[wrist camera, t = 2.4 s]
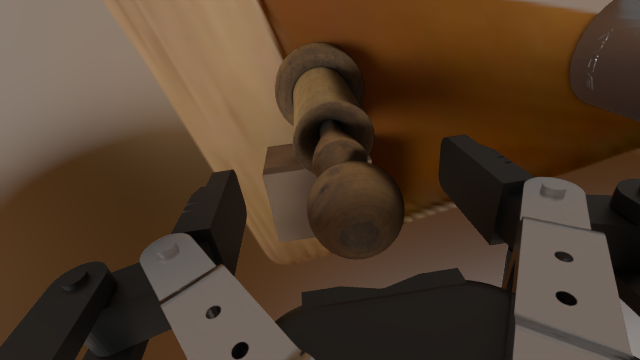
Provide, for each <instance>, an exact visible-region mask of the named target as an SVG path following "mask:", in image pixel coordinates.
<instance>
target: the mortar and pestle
mask: <svg viewBox="0 0 640 360" xmlns="http://www.w3.org/2000/svg"><path fill="white" fill-rule="evenodd" d="M275 96H276V101H277V105H278V107H279V110H280V111H281V113H282V115H283V116H284V118H285V119H286V120H287V121H288V122H289V123H290V124H291V125H292V126H294V128H293V148H294V153H295V156H296V158H297V159H298V161H299V162H300V164H301V165H302V166H303V167H304V168H305V169H306V170H308V171H309V172H311V173H313V174H315V176H316V177H317V180H316V181H315V183H314V184H313V186H312V188H311V190H310V193H309V196H308V201H307V216H308V221H309V224H310V227H311V229H312V231H313V233H314V235H315V236H316V238H317V239H318V241H319V242H320V243H321V244H322V245H323V246H324V247H325V248H326V249H328V250H329V251H331V252H332V253H334V254H336V255H338V256H341V257H344V258H348V259H365V258H369V257H373V256H375V255H377V254H379V253H381V252H382V251H384V250H386V249H387V248H388V247H389V246H390V245H391V244H392V243H393V242H394V241H395V239H396V238H397V236H398V234H399V232H400V230H401V227H402V225H403V220H404V201H403V197H402V194H401V192H400V189H399V187H398V186H397V184H396V182H395V181H394V180H393V178H392V177H391V176H390V175H389V174H388V173H387V172H385V171H384V170H383V169H381V168H380V167H378V166H376V165H373V164H371V163H368V156H369V154H370V152H371V150H372V148H373V144H374V128H373V125H372V122H371V120H370V118H369V117H368V115H367V114H366V112H365V111H364V110H363V108H362V107H361V106H362V103H363V99H364V82H363V77H362V74H361V72H360V70H359V68H358V66H357V65H356V63H355V62H354V61H353V60H352V59H351V57H350V56H349V55H348V54H347V53H346V52H344V51H343V50H342V49H340V48H338V47H336V46H334V45H331V44H327V43H310V44H306V45H303V46H301V47H299V48H297V49H295V50H294V51H292V52H291V53H290V54H289V55H288V56H287V57H286V58H285V59H284V61H283V62H282V64H281V66H280V68H279V70H278V73H277V77H276V84H275Z"/></svg>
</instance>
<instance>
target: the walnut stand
mask: <svg viewBox="0 0 640 360" xmlns="http://www.w3.org/2000/svg"><path fill="white" fill-rule="evenodd" d="M368 163H371V164H372V160H371V158H370V156H368ZM263 179H264V183H265V187H266V191H267V195H268V199H269V203H270V207H271V211H272V215H273V218H274V222H275V226H276V230H277V234H278V238H279V242H285V241H292V240H299V239H306V238H313V237H316V236H315V235H314V233H313V231H312V229H311V227H310V224H309V221H308V216H307V201H308V196H309V193H310V190H311V188H312V186H313V184H314V183H315V181H316V180H317V177H316V176H315V174H313V173H311V172H309V171H308V170H306V169H305V168H304V167H303V166H302V165H301V164H300V162H299V161H298V159H297V158H296V156H295V153H294V148H293V144H288V145H281V146H274V147H268V149H267V154H266V160H265V165H264V170H263Z"/></svg>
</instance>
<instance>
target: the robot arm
mask: <svg viewBox="0 0 640 360" xmlns="http://www.w3.org/2000/svg"><path fill="white" fill-rule="evenodd" d="M570 83H571V87H572V90H573V92H574V93H575V95H576V96H577V98H579V99H580V100H581V101H583V102H584V103H586V104H589V105H592V106H595V107H598V108H601V109H604V110H607V111H610V112H613V113H616V114H619V115H622V116H624V117H627V118H630V119H633V120H636V121H639V122H640V0H613V1H612V2H611V3H609V4H608V5H607V6H606V7H605V8H604V9H603V10H602V11H601V12H600V13H599V14H598V15H597V16H596V17H595V18H594V19H593V21H592V22H591V23H590V25H589V26H588V27H587V29H586V30H585V31H584V33H583V35H582V37H581V38H580V40H579V42H578V44H577V46H576V49H575V51H574V54H573V56H572V60H571V66H570ZM439 182H440V185H441V187H442V189H443V190H444V192H445V193H446V194H447V195H448V196H449V197H450V199H451V200H452V201H453V202H454V203H455V205H456V206H457V207H458V208H459V209H460V210H461V212H462V213H463V214H464V215H465V216H466V217H467V219H468V220H469V221H470V222H471V223H472V225H473V226H474V227H475V228H476V229H477V230H478V232H479V233H480V234H481V235H482V236H483V238H484V239H485V240H486V241H487V242H488V243H489V245H496V244H502V243H507V244H508V250H507V253H506V259H505V267H504V273H503V280H502V287H501V288H500V287H497V286H494V285H491V284H487V283H482V282H477V281H470V280H465V279H464V277H463V275H462V274H461V272H460V271H459V269H458V268H454V269H448V270H441V271H436V272H429V273H422V274H418V275H416V276H413V277H411V278H408V279H406V280H403V281H401V282H399V283H396V284H394V285H391V286H389V287H386V288H382V289H374V288H357V287H334V288H328V289H321V290H315V291H309V292H302V306H299V307H297V308H295V309H293V310H291V311H289V312H287V313H286V314H284V315H283V316H281V317H280V318H279V319H277V321H275V322H274V321H273V320H272V319H271V317H270V316H269V315H268V314H267V313H266V312H265V311H264V310H263V309H262V307H261V306H260V305H259V304H258V303H257V302H256V301H255V300H254V299H253V297H252V296H251V295H250V294H249V293H248V292H247V291H246V290H245V289H244V287H243V286H242V285H241V284H240V283H239V282H238V281H237V280H236V278H235V277H234V276H235V271H236V266H237V261H238V257H239V252H240V247H241V243H242V238H243V233H244V228H245V224H246V218H247V212H246V205H245V202H244V198H243V195H242V192H241V189H240V185H239V182H238V179H237V176H236V173H235V171H234V170H226V171H220V172H213V173H212V175H211V177H210V179H209V181H208V183H207V185H206V186H205V187H200V188H199V189H198V190H197V191H196V192H195V193H194V194H193V195H191V198H190V199H189V201H188V203H187V206H185V208H184V210H183V213H182V214H181V216H180V218H179V220H178V222H177V223H176V225H175V227H174V229H173V231H172V233H171V235H168V236H165V237H163V238H160V239H159V240H157V241H155V242H153V243H152V244H151V245H150V246H148V247H147V248H146V249H145V250H144V252H143V253H142V255H141V257H140V262H139V263H136V264H134V265H131V266H128V267H126V268H123V269H120V270H117V271H115V272H112V273H111V271H110V270H109V268H108V267H107V266H106V264H105V263H103V262H90V263H85V264H82V265H80V266H77V267H75V268H73V269H71V270H69V271H68V272H66V273H64V274H63V275H61V276H60V277H59V278H58V279H56V280H55V281H54V282H53V283H52V284H51V285H50V286H49V287H48V288H47V290H46V291H45V292H44V293H43V295H42V296H41V297H40V298H39V300H38V301H37V302H36V303H35V305H34V306H33V307H32V308H31V310H30V311H29V312H28V313H27V315H26V316H25V317H24V318H23V320H22V321H21V322H20V323H19V325H18V326H17V327H16V328H15V329H14V331H13V332H12V333H11V334H10V336H9V337H8V338H7V340H6V341H5V342H4V343H3V344H2V346H1V347H0V360H75V358H76V356H77V355H78V353H79V351H80V349H81V348H82V346H83V344H84V343H85V344H86V346H87V347H88V350H87V352H86V354H85V356H84V358H83V360H142V357H143V355H144V352H145V349H146V346H147V344H148V341H149V339H150V338H152V337H154V336H156V335H159V334H161V333H163V332H165V331H168V330H170V329H173V331H174V333H175V335H176V337H177V339H178V341H179V343H180V345H181V347H182V349H183V351H184V353H185V355H186V357H187V358H188V360H640V359H639V358H637V357H635V356H633V355H632V353H631V350H630V345H629V341H628V336H627V332H626V327H625V322H624V318H623V313H622V309H621V304H620V300H619V298H620V299H621V300H622V301H623V302H625V303H626V304H627V305H628V306H629V307H630V308H631V309H632V310H633V311H634V312H635V313H636V314H637V315H638V316H640V179H628V180H623V181H621V182H619V183H618V184H617V186H616V189H615V191H614V193H613V196H610V195H585V193H584V191H583V190H582V189H581V188H580V187H578V186H577V185H575V184H573V183H571V182H568V181H565V180H561V179H557V178H550V177H537V178H535V177H533V176H532V175H530V174H529V173H528V172H526V171H525V170H523V169H522V168H520V167H519V166H517V165H516V164H514V163H511V161H510V160H509V159H507V158H506V157H503V155H501V154H500V153H498V152H497V151H496V150H494V149H491V148H488V147H486V146H483V145H479V144H478V143H477V142H475V141H474V140H472V139H471V138H470V137H468V136H467V135H458V136H451V137H445V138H443V140H442V142H441V151H440V163H439Z"/></svg>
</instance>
